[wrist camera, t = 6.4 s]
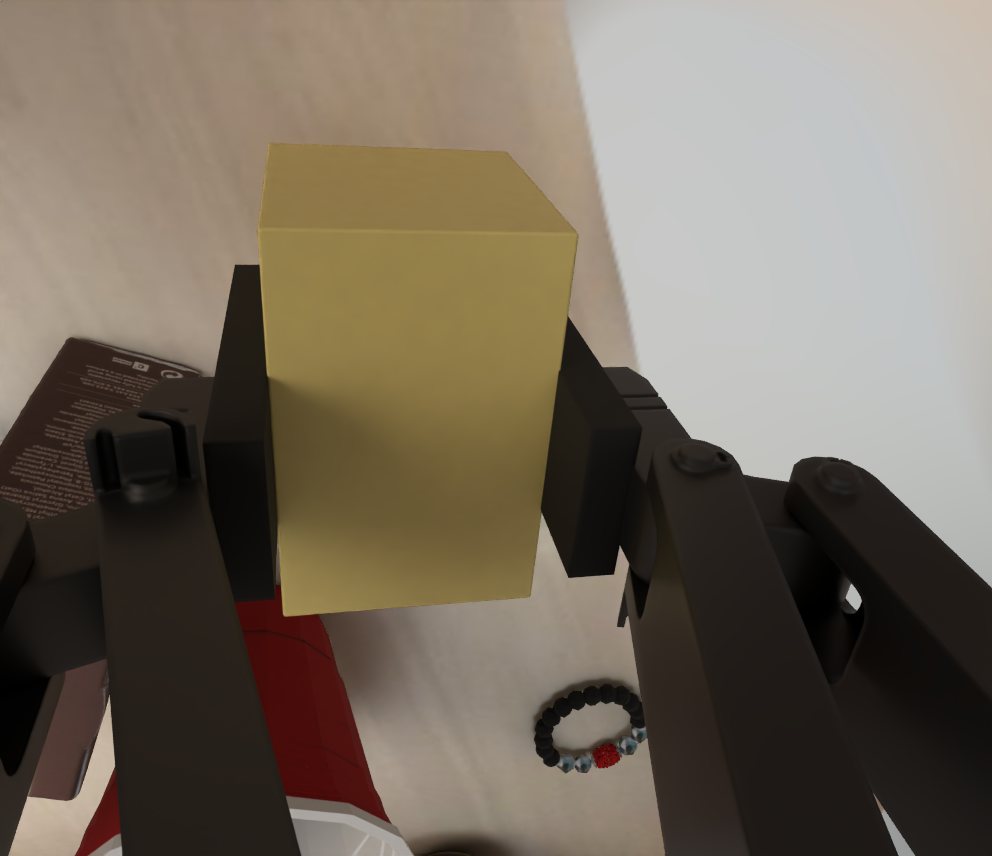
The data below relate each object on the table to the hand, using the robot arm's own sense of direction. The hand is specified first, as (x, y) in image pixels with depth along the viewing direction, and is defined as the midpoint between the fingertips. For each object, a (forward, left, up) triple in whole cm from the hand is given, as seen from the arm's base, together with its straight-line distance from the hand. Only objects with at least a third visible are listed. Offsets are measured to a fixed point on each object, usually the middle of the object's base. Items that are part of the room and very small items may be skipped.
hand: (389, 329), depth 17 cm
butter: (0, 0, 0) cm, 0 cm away
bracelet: (+25, +11, -10) cm, 29 cm away
